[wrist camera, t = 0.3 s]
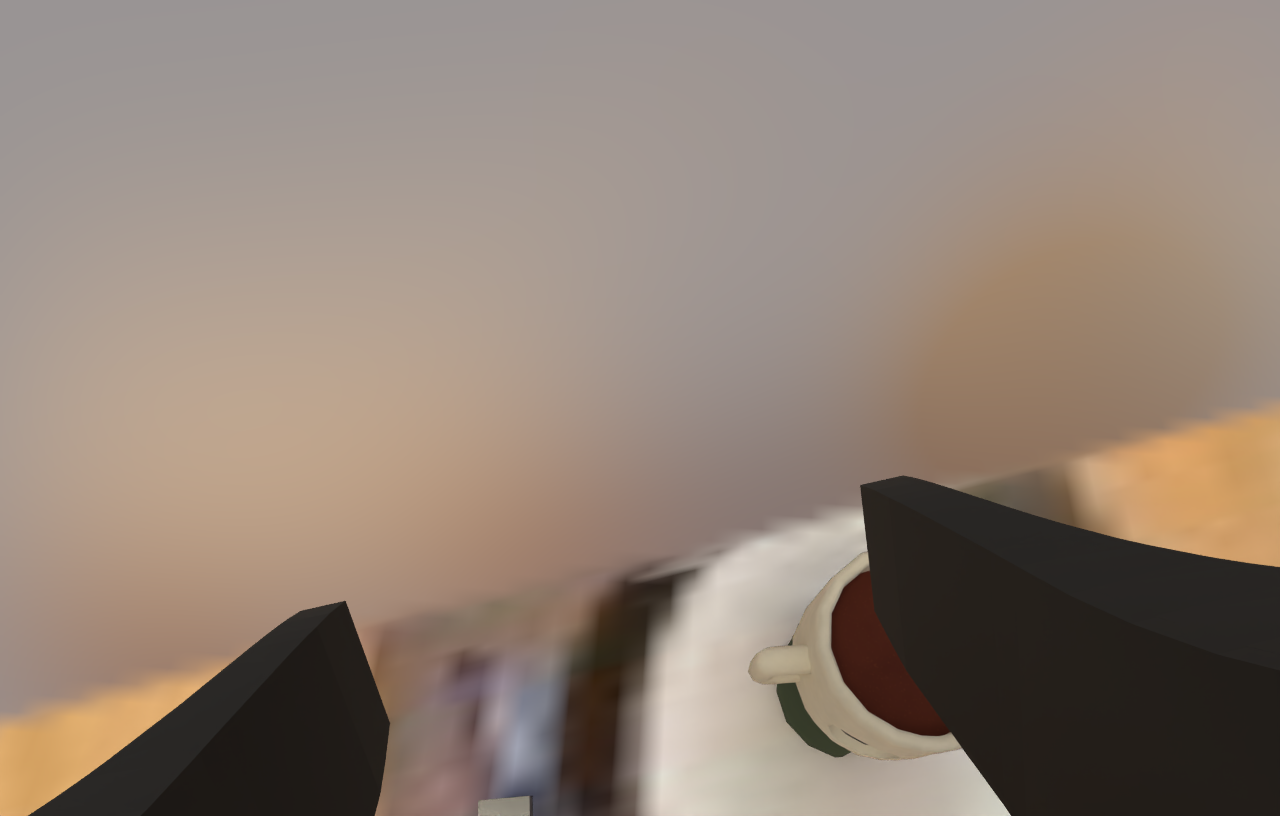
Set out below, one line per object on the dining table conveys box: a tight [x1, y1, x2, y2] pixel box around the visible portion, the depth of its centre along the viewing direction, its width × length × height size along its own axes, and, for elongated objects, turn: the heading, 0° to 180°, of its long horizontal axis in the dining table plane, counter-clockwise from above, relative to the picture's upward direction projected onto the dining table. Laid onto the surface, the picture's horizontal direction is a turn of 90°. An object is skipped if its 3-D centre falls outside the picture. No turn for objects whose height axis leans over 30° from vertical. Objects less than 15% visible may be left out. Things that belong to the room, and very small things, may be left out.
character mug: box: [748, 551, 962, 760], centre depth 33 cm, size 11×7×13 cm, turn 94°
